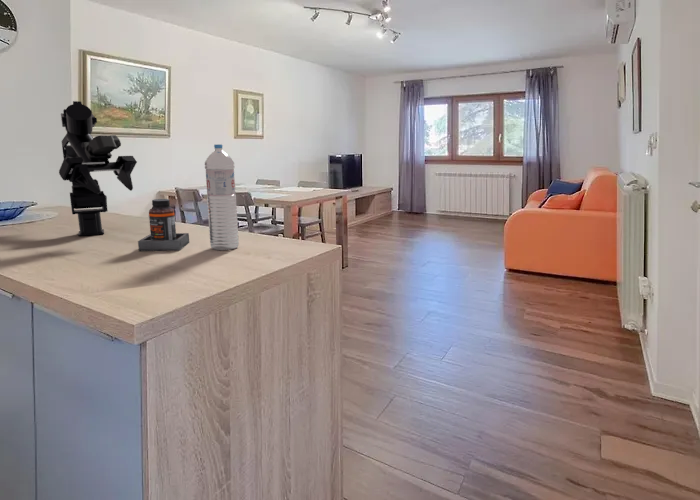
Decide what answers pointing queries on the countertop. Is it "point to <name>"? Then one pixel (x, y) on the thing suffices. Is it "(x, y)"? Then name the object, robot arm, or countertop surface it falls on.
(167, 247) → the tray
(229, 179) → the water bottle
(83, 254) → the countertop surface
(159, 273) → the countertop surface
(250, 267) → the countertop surface
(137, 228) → the countertop surface
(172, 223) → the supplement bottle
